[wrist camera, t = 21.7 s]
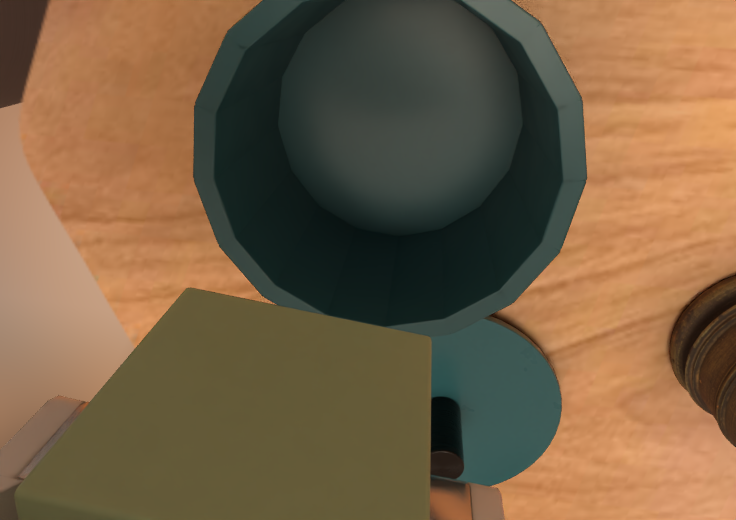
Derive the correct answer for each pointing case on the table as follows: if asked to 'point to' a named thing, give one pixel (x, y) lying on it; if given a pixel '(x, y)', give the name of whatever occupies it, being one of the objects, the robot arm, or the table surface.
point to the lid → (490, 403)
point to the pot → (390, 157)
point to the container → (709, 353)
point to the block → (248, 423)
